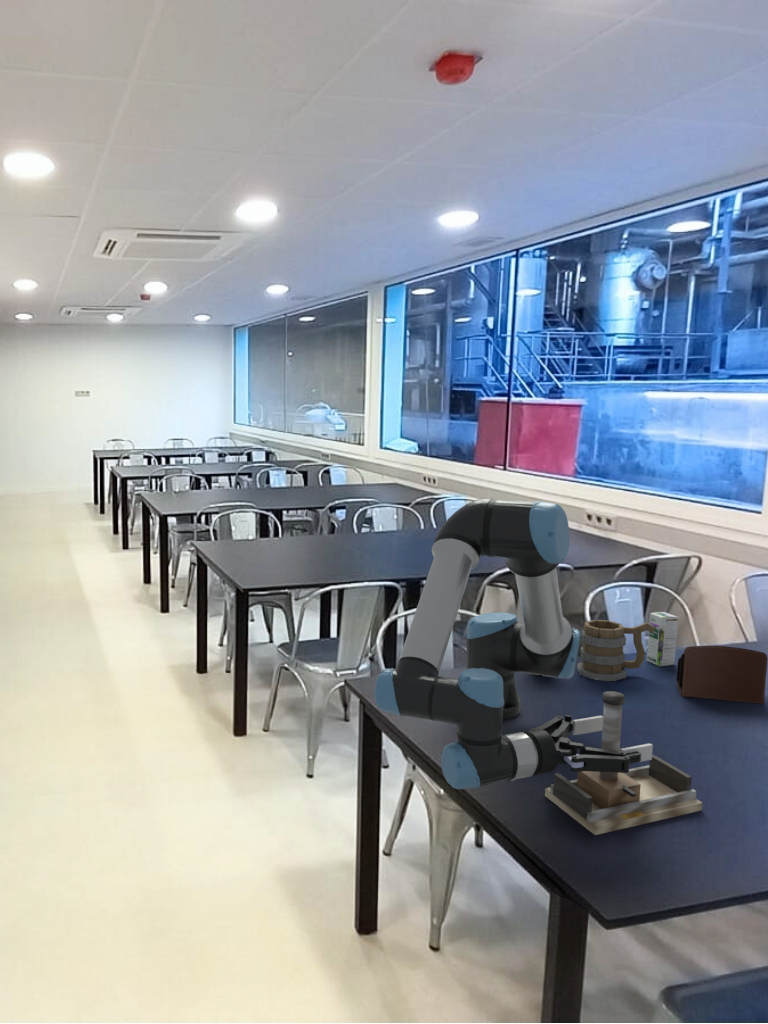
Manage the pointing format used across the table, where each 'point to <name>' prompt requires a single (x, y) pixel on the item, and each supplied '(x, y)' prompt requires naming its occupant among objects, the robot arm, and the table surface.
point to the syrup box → (662, 639)
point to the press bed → (659, 799)
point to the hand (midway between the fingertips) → (625, 736)
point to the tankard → (609, 649)
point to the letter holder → (722, 674)
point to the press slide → (610, 785)
